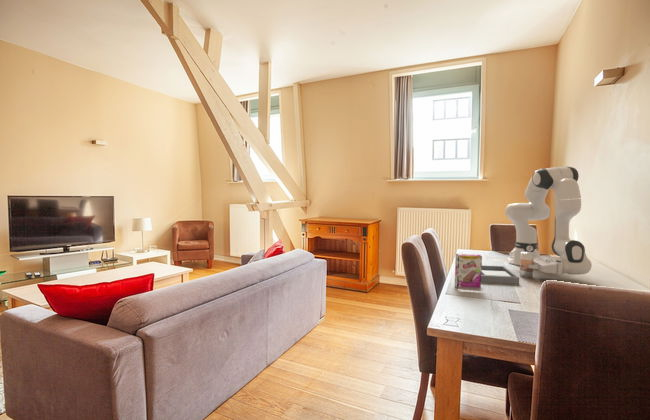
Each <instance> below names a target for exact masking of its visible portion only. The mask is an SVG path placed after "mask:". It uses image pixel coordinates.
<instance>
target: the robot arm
mask: <svg viewBox="0 0 650 420" xmlns="http://www.w3.org/2000/svg"><path fill="white" fill-rule="evenodd" d="M579 177H580V176H579V172H578V170H577V169H576V168H575V167H572V166H554V167H548V168H547V167H546V168H538V169H537V170H535V171H534V172H533V174H532V176H531V178H530V180H529V181H528V184H527V186H526V188H525V191H524V192H523V193H524V194H523V195H524V198H525V200H527V201H528V202H514V203H509V204H507V206H506V207H505V210H504V214H505V216H506V218H507V219H509V221H511V223H513V225H514V228H515V234H516V237H515V238H516V239H515V243H514V248H513V249H512V250H511V252H508V256H509V257H506V260H507V262H508V264H511V265H517V266H520V254H521V252H523V251H525V252H533V253H534V259H533V260H534V261H533V265H532V264H528V268H533V270H539V271H540V272H541V273H545V274H552V275H557V276H562V275H565V274H567V275H570V276H575V275H579V276H580V275H587V274H588V273H590V272H591V269H592V262H591V260H590V259H589V258H588V256H587V253H586V248H585V246H584V244H583V243H582V242H580V241H578V240H575V239H571V238H570V222H571V220H572V218H574V217H575V216H577V215H578V214H579V213H580V211H581V209H582V199H581V198H582V196H581V190H580V186H579V183H578V180H579ZM550 189H552V191H553V192H554V207H555V211H554V214H555V215H554V237H553V238H554V239H553V240H552V242H551V250H552V252H553V253H554V254H555V255H556V256H549V257H547V258H546V259H545V258H541V256H540V255H541V254H540V251H539V250H538V241H537V240H538V231H537V229H536V228H535V227H533V226H531V225H530V224H529V221H541V220H548V218H549V217H550V215H551V208H550V206H549V205H548V204H547V203H546V197H547V195H548V194H549V193H548V192H550V191H549V190H550Z"/></svg>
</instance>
